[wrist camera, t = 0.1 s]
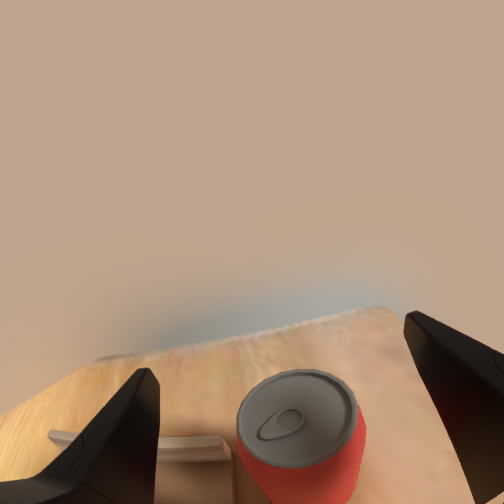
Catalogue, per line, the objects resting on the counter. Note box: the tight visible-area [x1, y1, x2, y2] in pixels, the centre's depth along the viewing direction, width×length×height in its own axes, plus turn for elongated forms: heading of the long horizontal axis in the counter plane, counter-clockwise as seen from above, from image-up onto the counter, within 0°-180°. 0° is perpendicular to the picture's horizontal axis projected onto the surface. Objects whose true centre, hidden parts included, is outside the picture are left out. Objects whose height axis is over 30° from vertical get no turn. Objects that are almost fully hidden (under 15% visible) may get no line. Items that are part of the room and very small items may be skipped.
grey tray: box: [47, 429, 235, 504], centre depth 16 cm, size 11×18×4 cm, turn 93°
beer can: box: [236, 369, 366, 504], centre depth 14 cm, size 7×7×12 cm
